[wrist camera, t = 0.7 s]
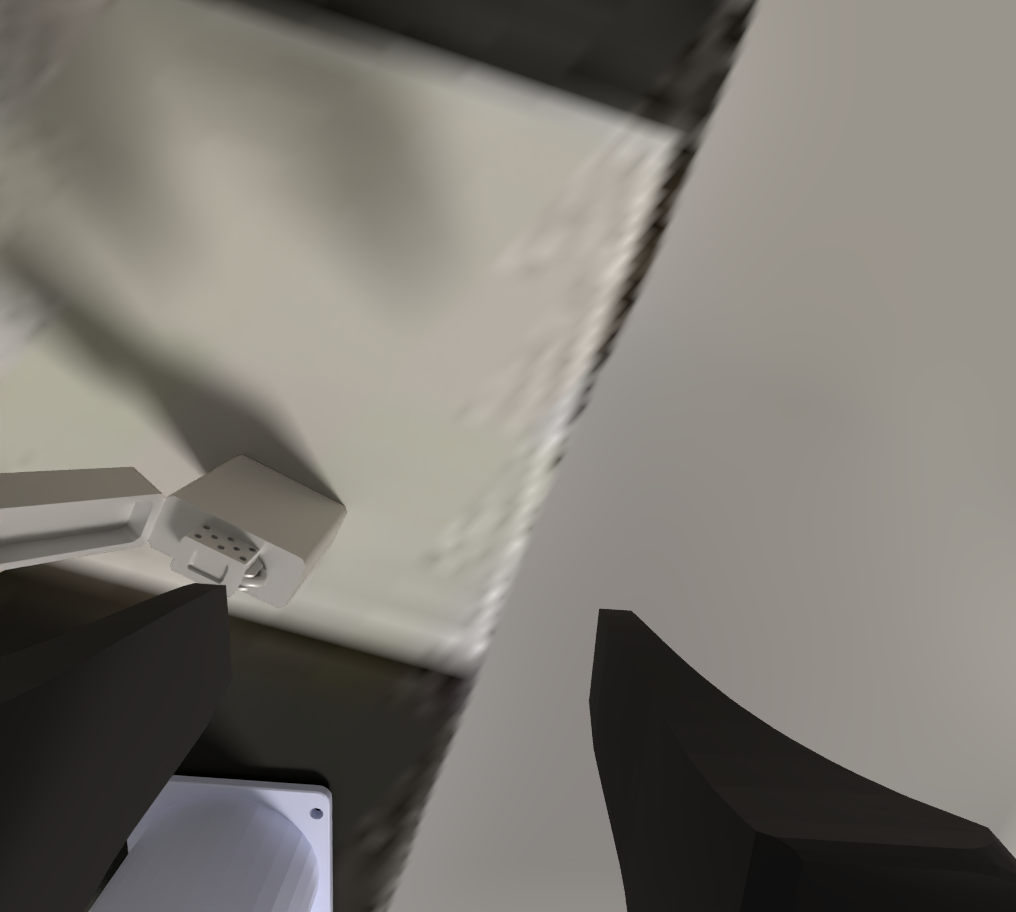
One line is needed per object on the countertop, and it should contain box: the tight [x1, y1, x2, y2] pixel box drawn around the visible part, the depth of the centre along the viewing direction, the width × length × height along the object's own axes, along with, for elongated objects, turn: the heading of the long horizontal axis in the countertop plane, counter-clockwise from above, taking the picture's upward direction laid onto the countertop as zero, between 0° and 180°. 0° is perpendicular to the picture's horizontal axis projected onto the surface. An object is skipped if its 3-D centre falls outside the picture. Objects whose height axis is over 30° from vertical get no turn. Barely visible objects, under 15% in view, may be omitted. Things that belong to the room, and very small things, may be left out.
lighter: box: [0, 455, 347, 608], centre depth 17 cm, size 7×2×8 cm, turn 61°
